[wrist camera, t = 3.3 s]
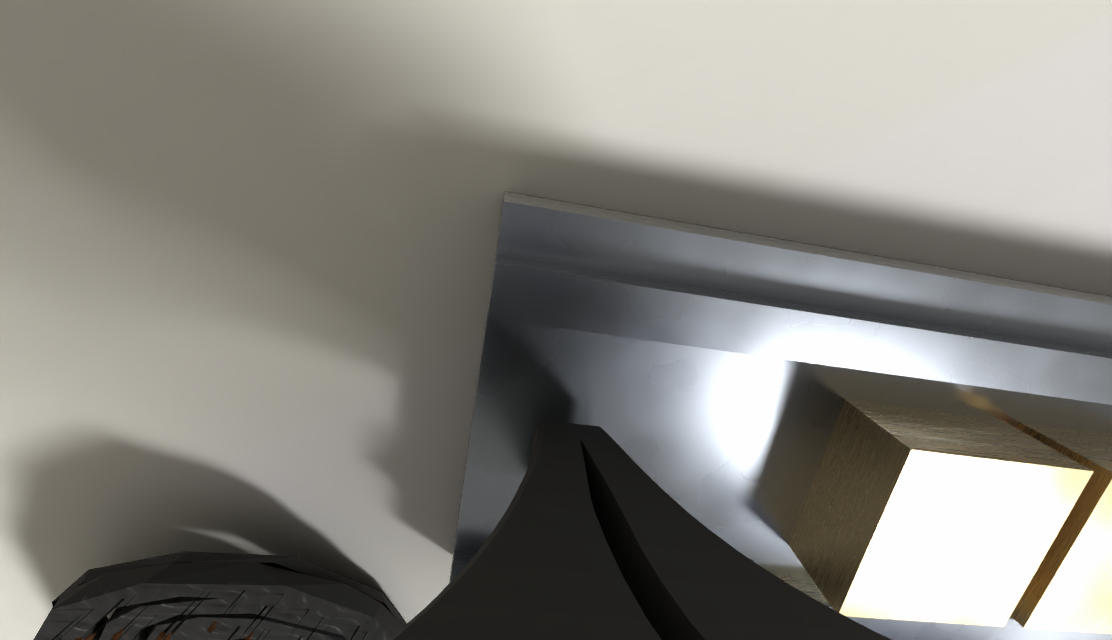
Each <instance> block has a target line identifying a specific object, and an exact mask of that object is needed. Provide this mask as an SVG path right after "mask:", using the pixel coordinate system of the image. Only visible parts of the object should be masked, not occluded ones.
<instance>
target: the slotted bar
mask: <svg viewBox="0 0 1112 640" xmlns="http://www.w3.org/2000/svg"><path fill="white" fill-rule="evenodd" d="M844 400H853V401H861V402H869V403H876V404H884V405H892V406H899V407H907V408H915V409H923V410H930V411H938V412H946V413H953V414H961V415H969V416H976V417H984V418H992V419H1000V420H1003V421H1004V422H1006V423H1008V424H1010V425H1012V426H1013V427H1015V428H1017V427H1018V425H1019V423H1020V422H1023V423H1030V424H1038V425H1046V426H1054V427H1061V428H1069V429H1077V430H1084V431H1092V432H1100V433H1107V434H1112V297H1110V296H1104V295H1099V294H1093V293H1087V292H1081V291H1075V290H1070V289H1064V288H1058V287H1052V286H1047V285H1041V284H1035V283H1029V282H1023V281H1018V280H1012V279H1006V278H1000V277H995V276H989V275H983V274H977V273H972V272H966V271H960V270H954V269H948V268H943V267H937V266H931V265H925V264H920V263H914V262H908V261H902V260H897V259H891V258H885V257H879V256H873V255H868V254H862V253H856V252H850V251H845V250H839V249H833V248H827V247H821V246H816V245H810V244H804V243H798V242H793V241H787V240H781V239H775V238H770V237H764V236H758V235H752V234H746V233H741V232H735V231H729V230H723V229H718V228H712V227H706V226H700V225H694V224H689V223H683V222H677V221H671V220H666V219H660V218H654V217H648V216H643V215H637V214H631V213H625V212H619V211H614V210H608V209H602V208H596V207H591V206H585V205H579V204H573V203H567V202H562V201H556V200H550V199H544V198H539V197H533V196H527V195H521V194H516V193H510V192H505V194H504V201H503V208H502V215H501V222H500V229H499V236H498V243H497V250H496V257H495V264H494V271H493V278H492V285H491V292H490V299H489V307H488V314H487V321H486V328H485V335H484V342H483V349H482V356H481V363H480V370H479V377H478V384H477V391H476V398H475V405H474V412H473V419H472V426H471V433H470V440H469V447H468V454H467V461H466V468H465V475H464V482H463V489H462V496H461V503H460V510H459V517H458V524H457V531H456V538H455V545H454V552H453V559H452V567H451V574H450V581H449V583H450V582H451V581H452V580H453V579H454V578H455V577H456V576H457V575H458V574H459V573H460V572H461V571H462V569H463V568H464V567H465V566H466V565H467V564H468V563H469V562H470V560H471V559H472V558H473V557H474V555H475V554H476V553H477V552H478V550H479V549H480V548H481V546H482V545H483V544H484V542H485V541H486V540H487V538H488V537H489V536H490V534H491V533H492V532H493V530H494V529H495V527H496V526H497V524H498V523H499V521H500V520H501V518H502V517H503V515H504V513H505V512H506V510H507V509H508V507H509V505H510V503H511V502H512V500H513V498H514V496H515V494H516V492H517V490H518V488H519V486H520V484H521V482H522V480H523V478H524V476H525V474H526V471H527V468H528V462H529V457H530V451H531V446H532V441H533V435H534V430H535V424H537V423H538V422H540V421H541V420H547V421H556V422H565V423H574V424H583V425H592V426H600V427H601V428H602V429H603V430H604V431H605V432H606V433H607V434H608V435H609V436H610V437H611V438H612V439H613V440H614V441H615V442H616V443H617V444H618V445H619V446H620V447H621V448H622V449H623V450H624V451H625V452H626V453H627V454H628V455H629V456H630V458H631V459H632V460H633V461H634V462H635V463H636V464H637V465H638V466H639V467H640V468H641V469H642V470H643V471H644V472H645V473H646V474H647V475H648V476H649V477H650V478H651V479H652V480H653V481H654V482H655V483H656V484H657V485H658V486H660V487H661V488H662V489H663V490H664V491H665V492H666V493H667V494H668V495H669V496H670V497H671V498H673V499H674V500H675V501H676V502H677V503H678V504H679V505H681V506H682V507H683V508H684V509H685V510H686V511H687V512H688V513H690V514H691V515H692V516H693V517H694V518H696V519H697V520H698V521H699V522H700V523H702V524H703V525H704V526H705V527H707V528H708V529H709V530H711V531H712V532H713V533H715V534H716V535H717V536H719V537H720V538H721V539H723V540H724V541H725V542H727V543H728V544H729V545H731V546H732V547H733V548H735V549H736V550H737V551H739V552H740V553H742V554H743V555H745V556H746V557H748V558H749V559H750V560H752V561H753V562H755V563H756V564H758V565H759V566H761V567H763V568H764V569H766V570H767V571H769V572H771V573H772V574H774V575H775V576H777V577H778V578H780V579H782V580H783V581H785V582H786V583H788V584H789V585H791V586H793V587H794V588H796V589H798V590H799V591H801V592H803V593H805V594H806V595H808V596H810V597H812V598H813V599H815V600H817V601H818V602H820V603H822V604H824V605H826V606H828V607H829V608H831V609H833V608H832V607H831V605H830V604H829V602H828V601H827V600H826V598H825V597H824V595H823V594H822V592H821V591H820V590H819V588H818V587H817V585H816V584H815V582H814V581H813V580H812V578H811V577H810V575H809V574H808V572H807V571H806V569H805V568H804V567H803V565H802V564H801V562H800V561H799V559H798V558H797V557H796V555H795V554H794V552H793V551H792V549H791V548H790V547H789V543H790V540H791V538H792V535H793V532H794V530H795V527H796V525H797V522H798V520H799V517H800V514H801V512H802V509H803V507H804V504H805V501H806V499H807V496H808V494H809V491H810V488H811V486H812V483H813V481H814V478H815V476H816V473H817V470H818V468H819V465H820V463H821V460H822V457H823V455H824V452H825V450H826V447H827V444H828V442H829V439H830V437H831V434H832V431H833V429H834V426H835V424H836V421H837V419H838V416H839V413H840V411H841V408H842V406H843V403H844ZM846 617H848V618H850V619H852V620H854V621H855V622H857V623H859V624H861V625H863V626H865V627H867V628H869V629H871V630H873V631H875V632H877V633H879V634H881V635H883V636H885V637H888V638H890V639H892V640H1112V634H1105V633H1090V632H1075V631H1060V630H1045V629H1030V628H1023V627H1022V626H1021V625H1020V624H1019V623H1018V622H1017V621H1015V620H1014V619H1013V618H1012V617H1011V616H1010V617H1009V619H1008V621H1007V622H1006V624H1005V626H1004V627H999V626H984V625H969V624H954V623H939V622H924V621H909V620H894V619H879V618H864V617H849V616H846Z"/></svg>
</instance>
